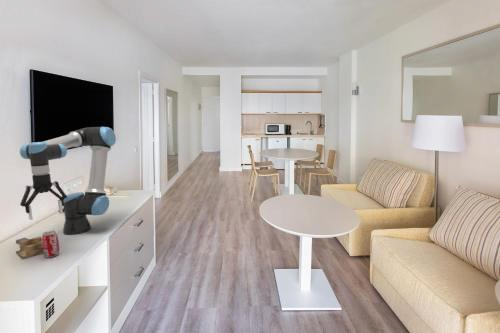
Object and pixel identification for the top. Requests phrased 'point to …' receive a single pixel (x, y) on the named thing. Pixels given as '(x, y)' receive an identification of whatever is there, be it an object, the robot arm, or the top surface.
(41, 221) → the top surface
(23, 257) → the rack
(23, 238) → the remote
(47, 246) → the soda can
